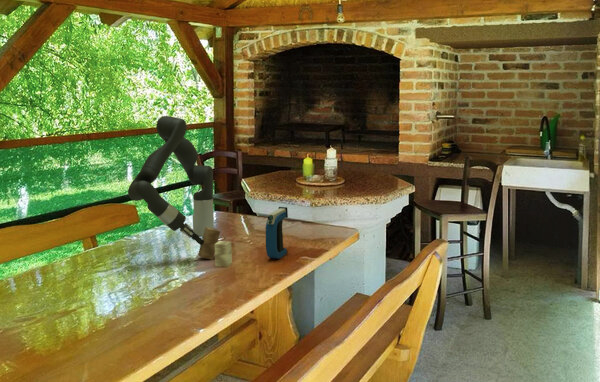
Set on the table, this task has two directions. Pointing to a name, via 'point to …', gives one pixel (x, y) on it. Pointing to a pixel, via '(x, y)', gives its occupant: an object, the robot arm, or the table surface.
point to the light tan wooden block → (209, 243)
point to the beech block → (223, 254)
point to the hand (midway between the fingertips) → (202, 243)
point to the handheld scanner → (275, 233)
